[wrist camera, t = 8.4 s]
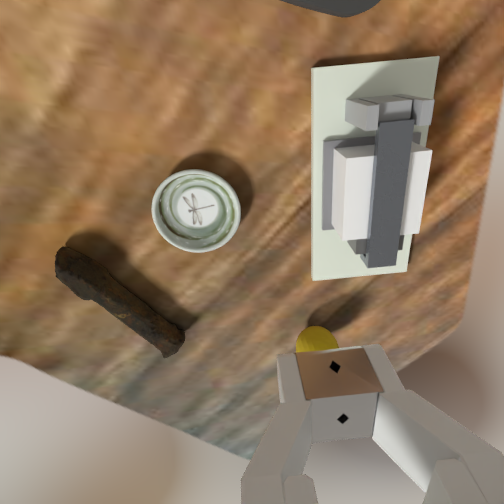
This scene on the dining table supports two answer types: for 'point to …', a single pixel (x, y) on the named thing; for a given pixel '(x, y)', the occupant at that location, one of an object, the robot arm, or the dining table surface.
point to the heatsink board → (334, 127)
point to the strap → (388, 191)
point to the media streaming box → (336, 6)
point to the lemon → (315, 340)
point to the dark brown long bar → (116, 300)
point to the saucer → (196, 210)
